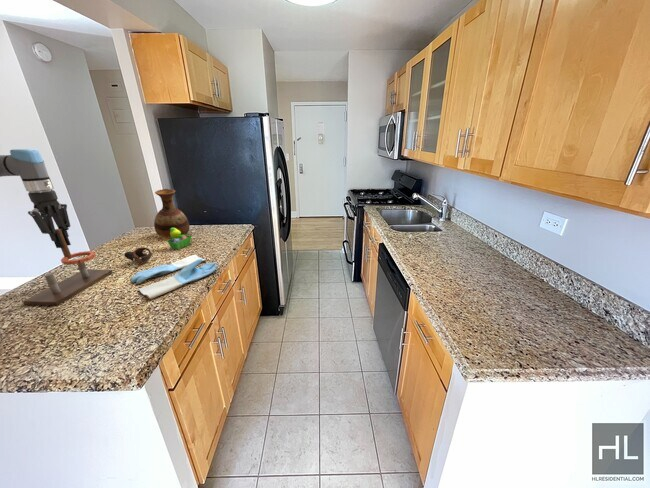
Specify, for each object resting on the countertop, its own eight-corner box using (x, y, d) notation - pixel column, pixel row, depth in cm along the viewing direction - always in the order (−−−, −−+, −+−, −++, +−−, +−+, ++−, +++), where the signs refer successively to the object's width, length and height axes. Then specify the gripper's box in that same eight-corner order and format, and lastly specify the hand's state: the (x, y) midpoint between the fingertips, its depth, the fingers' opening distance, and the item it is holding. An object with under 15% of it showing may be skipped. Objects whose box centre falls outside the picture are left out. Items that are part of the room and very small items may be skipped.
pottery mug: (153, 256, 140) (153, 245, 135) (151, 270, 134) (151, 259, 129) (126, 254, 134) (125, 244, 129) (122, 269, 129) (121, 258, 123)
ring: (54, 264, 108) (40, 233, 103) (78, 253, 118) (67, 225, 113) (79, 264, 107) (67, 234, 102) (101, 254, 117) (91, 225, 112)
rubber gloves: (124, 279, 116) (120, 266, 114) (195, 255, 140) (193, 244, 138) (150, 300, 101) (145, 286, 98) (224, 269, 125) (222, 257, 122)
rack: (24, 304, 98) (13, 282, 95) (86, 272, 122) (78, 253, 119) (57, 305, 98) (47, 283, 94) (112, 272, 122) (106, 254, 118)
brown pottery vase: (156, 242, 158) (144, 193, 147) (157, 232, 174) (145, 188, 163) (192, 236, 167) (182, 190, 156) (189, 228, 183) (180, 185, 172)
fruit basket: (177, 250, 146) (173, 231, 142) (166, 248, 149) (161, 230, 145) (193, 243, 156) (190, 226, 152) (183, 241, 159) (179, 224, 155)
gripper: (28, 194, 94) (54, 253, 103) (68, 187, 108) (88, 240, 117) (9, 194, 95) (36, 253, 103) (51, 187, 109) (72, 239, 118)
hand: (63, 246), depth 110 cm, fingers closed on ring, 2 cm apart
